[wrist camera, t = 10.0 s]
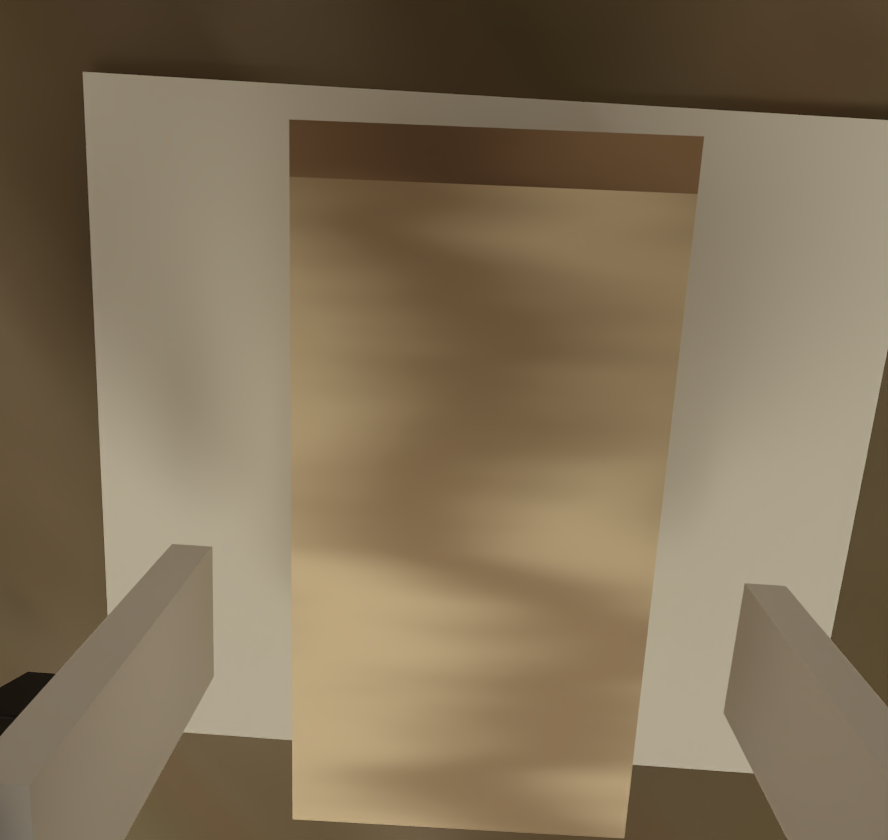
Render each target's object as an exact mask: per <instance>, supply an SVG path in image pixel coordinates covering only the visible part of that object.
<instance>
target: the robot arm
mask: <svg viewBox="0 0 888 840" xmlns="http://www.w3.org/2000/svg"><path fill="white" fill-rule="evenodd" d="M213 677H214V648H213V555H212V547H210V546H196V545H181V544H172V545H171V546H170V547H169V548H168V549H167V550H166V551H165V552H164V553H163V555H162V556H161V557H160V558H159V559H158V560H157V561H156V562H155V564H154V565H153V566H152V567H151V568H150V569H149V570H148V571H147V573H146V574H145V575H144V576H143V577H142V578H141V579H140V580H139V581H138V583H137V584H136V585H135V586H134V587H133V588H132V589H131V590H130V592H129V593H128V594H127V595H126V596H125V597H124V598H123V599H122V600H121V602H120V603H119V604H118V605H117V606H116V607H115V608H114V609H113V611H112V612H111V613H110V614H109V615H108V616H107V617H106V618H105V620H104V621H103V622H102V623H101V624H100V625H99V626H98V627H97V628H96V630H95V631H94V632H93V633H92V634H91V635H90V636H89V637H88V639H87V640H86V641H85V642H84V643H83V644H82V645H81V646H80V647H79V649H78V650H77V651H76V652H75V653H74V654H73V655H72V656H71V658H70V659H69V660H68V661H67V662H66V663H65V664H64V665H63V667H62V668H61V669H60V670H59V671H58V672H57V673H56V674H50V673H36V672H27V673H25V674H23V675H22V676H20V677H18V678H16V679H14V680H13V681H11V682H9V683H7V684H6V685H4V686H2V687H0V840H124V839H125V837H126V835H127V834H128V832H129V830H130V828H131V826H132V825H133V823H134V821H135V819H136V817H137V815H138V814H139V812H140V810H141V808H142V806H143V804H144V803H145V801H146V799H147V797H148V795H149V794H150V792H151V790H152V788H153V786H154V784H155V783H156V781H157V779H158V777H159V775H160V774H161V772H162V770H163V768H164V766H165V764H166V763H167V761H168V759H169V757H170V755H171V754H172V752H173V750H174V748H175V746H176V744H177V743H178V741H179V739H180V737H181V735H182V734H183V732H184V730H185V728H186V726H187V724H188V723H189V721H190V719H191V717H192V715H193V714H194V712H195V710H196V708H197V706H198V704H199V703H200V701H201V699H202V697H203V695H204V694H205V692H206V690H207V688H208V686H209V684H210V683H211V681H212V679H213ZM723 713H724V715H725V717H726V719H727V721H728V723H729V725H730V727H731V729H732V731H733V733H734V735H735V737H736V739H737V741H738V743H739V745H740V747H741V749H742V751H743V753H744V755H745V757H746V759H747V761H748V763H749V765H750V767H751V769H752V771H753V773H754V775H755V777H756V779H757V781H758V783H759V784H760V786H761V788H762V790H763V792H764V794H765V796H766V798H767V800H768V802H769V804H770V806H771V808H772V810H773V812H774V814H775V816H776V818H777V820H778V822H779V824H780V826H781V828H782V830H783V832H784V834H785V836H786V838H787V840H888V707H887V706H886V705H885V703H884V702H883V701H882V700H881V699H880V697H879V696H878V695H877V694H876V693H875V691H874V690H873V689H872V688H871V687H870V685H869V684H868V683H867V682H866V681H865V680H864V678H863V677H862V676H861V675H860V674H859V672H858V671H857V670H856V669H855V668H854V666H853V665H852V664H851V663H850V662H849V660H848V659H847V658H846V657H845V656H844V655H843V653H842V652H841V651H840V650H839V649H838V647H837V646H836V645H835V644H834V643H833V641H832V640H831V639H830V638H829V637H828V635H827V634H826V633H825V632H824V631H823V630H822V628H821V627H820V626H819V625H818V624H817V622H816V621H815V620H814V619H813V618H812V616H811V615H810V614H809V613H808V612H807V611H806V609H805V608H804V607H803V606H802V605H801V603H800V602H799V601H798V600H797V599H796V597H795V596H794V595H793V594H792V593H791V591H790V590H789V589H788V588H787V587H786V586H778V585H764V584H749V583H745V585H744V591H743V597H742V603H741V609H740V615H739V621H738V627H737V633H736V639H735V645H734V651H733V658H732V664H731V670H730V676H729V682H728V688H727V694H726V700H725V706H724V712H723Z"/></svg>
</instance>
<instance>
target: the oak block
mask: <svg viewBox="0 0 888 840" xmlns="http://www.w3.org/2000/svg"><path fill="white" fill-rule="evenodd" d="M703 143H704V136H683V135H658V134H634V133H609V132H585V131H560V130H536V129H511V128H487V127H463V126H438V125H414V124H389V123H365V122H340V121H316V120H291V119H289V194H290V391H291V589H292V786H293V819H298V820H315V821H333V822H350V823H368V824H385V825H402V826H420V827H437V828H454V829H472V830H489V831H506V832H524V833H541V834H558V835H576V836H593V837H610V838H624V835H625V826H626V818H627V809H628V800H629V791H630V782H631V774H632V765H633V756H634V747H635V739H636V730H637V721H638V712H639V704H640V695H641V686H642V677H643V669H644V660H645V651H646V642H647V634H648V625H649V616H650V607H651V599H652V590H653V581H654V572H655V563H656V555H657V546H658V537H659V528H660V520H661V511H662V502H663V493H664V485H665V476H666V467H667V458H668V450H669V441H670V432H671V423H672V415H673V406H674V397H675V388H676V380H677V371H678V362H679V353H680V345H681V336H682V327H683V318H684V309H685V301H686V292H687V283H688V274H689V266H690V257H691V248H692V239H693V231H694V222H695V213H696V204H697V196H698V187H699V178H700V169H701V161H702V152H703Z"/></svg>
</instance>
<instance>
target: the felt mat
mask: <svg viewBox="0 0 888 840" xmlns="http://www.w3.org/2000/svg"><path fill="white" fill-rule="evenodd" d="M83 90H84V111H85V133H86V155H87V177H88V198H89V220H90V242H91V263H92V285H93V307H94V329H95V350H96V372H97V394H98V415H99V437H100V459H101V481H102V502H103V524H104V546H105V568H106V589H107V611H108V615H109V614H110V613H111V612H112V611H113V609H114V608H115V607H116V606H117V605H118V604H119V603H120V602H121V600H122V599H123V598H124V597H125V596H126V595H127V594H128V593H129V592H130V590H131V589H132V588H133V587H134V586H135V585H136V584H137V583H138V581H139V580H140V579H141V578H142V577H143V576H144V575H145V574H146V573H147V571H148V570H149V569H150V568H151V567H152V566H153V565H154V564H155V562H156V561H157V560H158V559H159V558H160V557H161V556H162V555H163V553H164V552H165V551H166V550H167V549H168V548H169V547H170V546H171V545H172V544H181V545H196V546H210V547H212V555H213V648H214V677H213V679H212V681H211V683H210V684H209V686H208V688H207V690H206V692H205V694H204V695H203V697H202V699H201V701H200V703H199V704H198V706H197V708H196V710H195V712H194V714H193V715H192V717H191V719H190V721H189V723H188V724H187V726H186V728H185V730H184V732H187V733H201V734H215V735H229V736H243V737H257V738H271V739H285V740H292V589H291V391H290V194H289V119H291V120H316V121H340V122H365V123H389V124H414V125H438V126H463V127H487V128H511V129H536V130H560V131H585V132H609V133H634V134H658V135H683V136H704V143H703V152H702V161H701V169H700V178H699V187H698V196H697V204H696V213H695V222H694V231H693V239H692V248H691V257H690V266H689V274H688V283H687V292H686V301H685V309H684V318H683V327H682V336H681V345H680V353H679V362H678V371H677V380H676V388H675V397H674V406H673V415H672V423H671V432H670V441H669V450H668V458H667V467H666V476H665V485H664V493H663V502H662V511H661V520H660V528H659V537H658V546H657V555H656V563H655V572H654V581H653V590H652V599H651V607H650V616H649V625H648V634H647V642H646V651H645V660H644V669H643V677H642V686H641V695H640V704H639V712H638V721H637V730H636V739H635V747H634V756H633V765H645V766H659V767H673V768H687V769H701V770H715V771H728V772H742V773H753V771H752V769H751V767H750V765H749V763H748V761H747V759H746V757H745V755H744V753H743V751H742V749H741V747H740V745H739V743H738V741H737V739H736V737H735V735H734V733H733V731H732V729H731V727H730V725H729V723H728V721H727V719H726V717H725V715H724V713H723V712H724V706H725V700H726V694H727V688H728V682H729V676H730V670H731V664H732V658H733V651H734V645H735V639H736V633H737V627H738V621H739V615H740V609H741V603H742V597H743V591H744V585H745V583H749V584H764V585H778V586H786V587H787V588H788V589H789V590H790V591H791V593H792V594H793V595H794V596H795V597H796V599H797V600H798V601H799V602H800V603H801V605H802V606H803V607H804V608H805V609H806V611H807V612H808V613H809V614H810V615H811V616H812V618H813V619H814V620H815V621H816V622H817V624H818V625H819V626H820V627H821V628H822V630H823V631H824V632H825V633H826V634H827V635H828V637H829V638H830V639H831V634H832V629H833V624H834V619H835V614H836V609H837V604H838V599H839V593H840V588H841V583H842V578H843V573H844V568H845V563H846V558H847V553H848V548H849V543H850V538H851V533H852V527H853V522H854V517H855V512H856V507H857V502H858V497H859V492H860V487H861V482H862V477H863V472H864V467H865V461H866V456H867V451H868V446H869V441H870V436H871V431H872V426H873V421H874V416H875V411H876V406H877V400H878V395H879V390H880V385H881V380H882V375H883V370H884V365H885V360H886V355H887V350H888V120H877V119H860V118H843V117H827V116H810V115H794V114H777V113H760V112H744V111H727V110H710V109H694V108H677V107H660V106H644V105H627V104H611V103H594V102H577V101H561V100H544V99H527V98H511V97H494V96H477V95H461V94H444V93H428V92H411V91H394V90H378V89H361V88H344V87H328V86H311V85H294V84H278V83H261V82H245V81H228V80H211V79H195V78H178V77H161V76H145V75H128V74H111V73H95V72H83Z"/></svg>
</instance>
